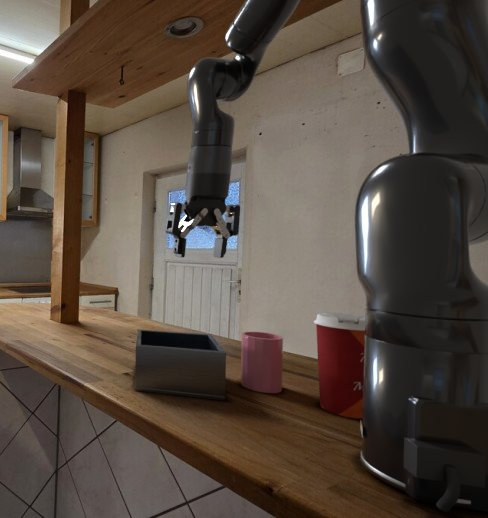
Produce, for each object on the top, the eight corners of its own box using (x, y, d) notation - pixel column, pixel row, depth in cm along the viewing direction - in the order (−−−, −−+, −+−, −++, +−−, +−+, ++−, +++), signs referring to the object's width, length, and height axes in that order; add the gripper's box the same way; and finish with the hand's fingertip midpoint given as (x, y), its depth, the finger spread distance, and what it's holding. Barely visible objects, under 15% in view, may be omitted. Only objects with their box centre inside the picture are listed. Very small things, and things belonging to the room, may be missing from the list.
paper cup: (383, 427, 50) (386, 323, 49) (311, 412, 54) (314, 316, 54) (375, 408, 56) (378, 315, 56) (311, 395, 61) (313, 310, 60)
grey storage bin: (225, 400, 58) (226, 352, 58) (135, 390, 62) (135, 345, 62) (210, 373, 71) (211, 334, 71) (136, 366, 75) (137, 329, 75)
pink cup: (287, 395, 61) (288, 340, 61) (245, 390, 63) (246, 337, 62) (275, 382, 67) (276, 332, 66) (237, 379, 68) (238, 330, 68)
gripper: (186, 169, 66) (177, 260, 68) (256, 173, 68) (245, 260, 71) (163, 172, 73) (156, 254, 75) (227, 175, 76) (218, 254, 78)
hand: (199, 257), depth 73 cm, fingers open, 8 cm apart
